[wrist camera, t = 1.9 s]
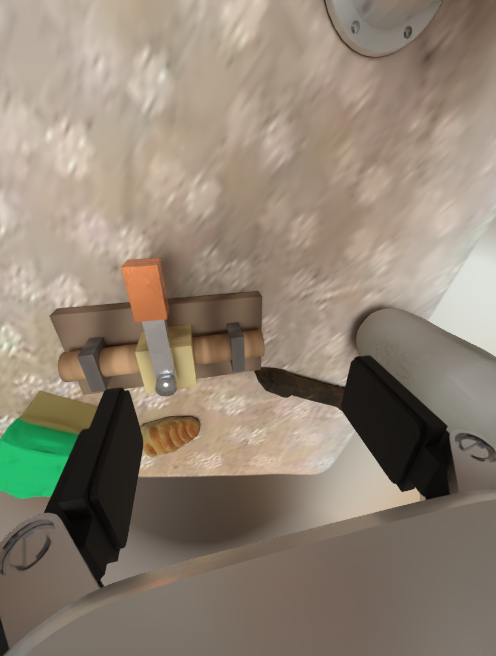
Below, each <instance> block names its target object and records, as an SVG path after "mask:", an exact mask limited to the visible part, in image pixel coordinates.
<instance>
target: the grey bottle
mask: <svg viewBox="0 0 496 656" xmlns="http://www.w3.org/2000/svg"><path fill="white" fill-rule="evenodd" d="M356 345H357V350H358V353H359V355H360V356H365V355H370V356H371V357H373V358H374V359H375V360H376V361H377V362H378V363H379V364H380V365H381V366H383V367H384V368H385V369H386V370H387V371H388V372H389V373H390V374H391V375H392V376H394V377H395V378H396V379H397V380H398V381H399V382H400V383H401V384H402V385H403V386H405V387H406V388H407V389H408V390H409V391H410V392H411V393H412V394H413V395H414V396H416V397H417V398H418V399H419V400H420V401H421V402H422V403H423V404H424V405H425V406H427V407H428V408H429V409H430V410H431V411H432V412H433V413H434V414H435V415H436V416H438V417H439V418H440V419H441V420H442V421H443V422H444V423H445V424H446V425H447V426H448V427H447V429H446V430H447V431H448V432H449V433H451V432H452V431H454V430H457V429H461V430H468V431H472V432H474V433H477V434H479V435H481V436H483V437H484V438H486V439H488V440H489V441H490V442H492V443H493V444H494V445H495V446H496V357H495V356H493V355H492V354H490V353H488V352H487V351H485V350H483V349H481V348H479V347H477V346H475V345H473V344H471V343H469V342H467V341H465V340H463V339H461V338H459V337H457V336H455V335H453V334H451V333H449V332H446V331H445V330H443V329H441V328H439V327H438V326H436V325H434V324H432V323H430V322H429V321H427V320H425V319H423V318H421V317H419V316H416V315H414V314H411V313H409V312H406V311H403V310H399V309H382V310H378V311H376V312H373V313H372V314H370V315H369V316H368V317H367V318H366V319H365V320H364V322H363V323H362V324H361V326H360V327H359V330H358V332H357V337H356Z"/></svg>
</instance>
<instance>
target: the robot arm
mask: <svg viewBox="0 0 496 656" xmlns="http://www.w3.org/2000/svg"><path fill="white" fill-rule="evenodd" d="M325 1H326V5H327V9H328V13H329V15H330V17H331V20H332V22H333V24H334V27H335V29H336V30H337V32H338V33H339V35H340V36H341V38H342V39H343V41H345V42H346V43H347V44H348V45H349V46H350V47H351V48H352V49H353V50H355V51H357V52H358V53H360V54H362V55H366V56H370V57H380V56H386V55H389V54H391V53H394V52H396V51H398V50H399V49H401V48H403V47H404V46H406V45H407V44H408V43H410V42H411V41H412V40H414V39H415V38H416V37H417V36H418V35H419V34H420V33H421V32H422V31H423V30H424V28H425V27H426V26H427V25H428V24H429V22H430V21H431V19H432V18H433V16H434V15H435V13H436V12H437V10H438V8H439V6H440V4H441V2H442V0H325ZM351 30H352V31H351ZM341 408H342V411H343V413H344V414H345V416H346V417H347V419H348V420H349V422H350V423H351V425H352V426H353V427H354V429H355V430H356V432H357V433H358V435H359V436H360V437H361V439H362V440H363V442H364V443H365V445H366V446H367V448H368V449H369V450H370V452H371V453H372V455H373V456H374V457H375V459H376V460H377V462H378V463H379V465H380V466H381V468H382V469H383V471H384V472H385V473H386V475H387V476H388V478H389V479H390V480H391V482H393V483H394V484H397V486H398V487H399V489H400V490H401V491H402V492H404V491H408V490H412V489H414V488H415V487H416V489H417V490H418V491H419V492H420V501H419V502H415V503H411V504H407V505H403V506H399V507H395V508H391V509H387V510H383V511H379V512H375V513H371V514H367V515H363V516H359V517H355V518H351V519H347V520H343V521H339V522H335V523H331V524H327V525H323V526H319V527H316V528H311V529H308V530H304V531H300V532H296V533H292V534H288V535H284V536H280V537H276V538H272V539H268V540H265V541H261V542H257V543H253V544H249V545H245V546H241V547H238V548H234V549H230V550H226V551H222V552H218V553H215V554H211V555H207V556H204V557H199V558H195V559H192V560H188V561H185V562H181V563H178V564H174V565H170V566H167V567H163V568H160V569H156V570H153V571H149V572H146V573H142V574H139V575H136V576H133V577H130V578H127V579H124V580H121V581H118V582H115V583H112V584H110V585H107V586H104V584H103V583H102V581H101V578H102V577H103V576H104V575H105V570H106V565H107V564H108V563H111V562H116V561H118V556H119V551H120V549H121V548H124V547H125V546H126V542H127V537H128V532H129V525H130V520H131V514H132V508H133V502H134V497H135V491H136V485H137V480H138V474H139V468H140V462H141V456H142V451H143V436H142V433H141V429H140V426H139V422H138V419H137V415H136V412H135V409H134V405H133V402H132V398H131V395H130V392H129V390H126V391H124V388H123V387H119V388H112V389H106V390H105V391H104V393H103V396H102V398H101V400H100V403H99V405H98V408H97V410H96V413H95V415H94V417H93V420H92V422H91V425H90V427H89V428H87V429H83V430H82V431H81V432H80V433H79V435H78V437H77V440H76V442H75V444H74V446H73V449H72V451H71V453H70V455H69V457H68V460H67V462H66V464H65V466H64V469H63V471H62V473H61V475H60V478H59V480H58V482H57V484H56V487H55V489H54V491H53V493H52V496H51V499H50V500H49V502H48V505H47V507H46V509H45V512H44V513H43V514H38V515H36V516H33V517H31V518H29V519H27V520H26V521H24V522H22V523H20V524H19V525H18V526H16V527H15V528H14V529H13V530H12V531H11V532H9V533H8V535H7V536H6V537H5V538H4V539H3V541H2V542H1V543H0V656H496V446H495V445H494V444H493V443H492V442H490V441H489V440H488V439H486V438H484V437H483V436H481V435H479V434H477V433H474V432H472V431H468V430H461V429H457V430H454V431H452V432H451V433H449V432H448V431H447V430H446V429H447V427H448V426H447V425H446V424H445V423H444V422H443V421H442V420H441V419H440V418H439V417H438V416H436V415H435V414H434V413H433V412H432V411H431V410H430V409H429V408H428V407H427V406H425V405H424V404H423V403H422V402H421V401H420V400H419V399H418V398H417V397H416V396H414V395H413V394H412V393H411V392H410V391H409V390H408V389H407V388H406V387H405V386H403V385H402V384H401V383H400V382H399V381H398V380H397V379H396V378H395V377H394V376H392V375H391V374H390V373H389V372H388V371H387V370H386V369H385V368H384V367H383V366H381V365H380V364H379V363H378V362H377V361H376V360H375V359H374V358H373V357H371V356H370V355H365V356H357V357H355V358H354V360H353V361H352V362H351V365H350V369H349V374H348V378H347V382H346V386H345V391H344V395H343V399H342V403H341Z"/></svg>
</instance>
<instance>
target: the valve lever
mask: <svg viewBox="0 0 496 656" xmlns="http://www.w3.org/2000/svg"><path fill="white" fill-rule="evenodd" d="M121 269H122V273H123V277H124V281H125V285H126V289H127V293H128V296H129V300H130V304H131V308H132V312H133V316H134V320H135V322H142V324H143V329H144V333H145V337H146V341H147V345H148V349H149V353H150V358H151V362H152V366H153V370H154V374H155V378H156V386H155V390H156V392H157V393H158V394H159V395H161V396H171V395H173V394H174V393H175V392H176V390H177V375H176V370H175V364H174V359H173V354H172V348H171V343H170V338H169V333H168V327H167V322H166V319H167V318H168V311H169V305H168V299H167V293H166V288H165V282H164V277H163V271H162V266H161V260H160V258H149V259H132V260H127V261H126V262H125V263H124V265H123V266H122V267H121Z"/></svg>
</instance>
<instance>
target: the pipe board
mask: <svg viewBox="0 0 496 656" xmlns="http://www.w3.org/2000/svg"><path fill="white" fill-rule="evenodd" d="M168 305H169V311H168V318H167V319H166V322H167V327H168V333H169V338H170V343H171V348H172V354H173V359H174V364H175V370H176V375H177V389H183V388H190V387H196V386H197V379H198V378H205V377H212V376H219V375H226V374H233V373H241V372H248V371H255V370H261V356H264V339H263V335H262V332H261V326H262V296H261V294H260V293H259V292H258V291H255V292H243V293H232V294H220V295H209V296H197V297H186V298H175V299H168ZM50 318H51V321H52V323H53V325H54V327H55V330H56V332H57V334H58V337H59V339H60V341H61V344H62V346H63V348H64V351H65V352H63V353H62V354H61V355H60V357H59V361H58V371H59V375H60V377H61V379H62V380H63V381H64V382H72V381H78V383H79V385H80V388H81V390H82V392H83V394H84V395H85V394H92V393H99V392H104V391H105V390H106V389H112V388H119V387H123V388H124V389H127V388H135V387H142V386H144V387H145V390H146V394H149V393H156V390H155V386H156V378H155V374H154V370H153V366H152V362H151V358H150V353H149V349H148V345H147V341H146V337H145V333H144V329H143V324H142V322H135V320H134V316H133V312H132V308H131V304H130V302H129V303H117V304H106V305H95V306H83V307H72V308H60V309H56V310H55V311H54V312H53V313H52V314H51V315H50Z"/></svg>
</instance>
